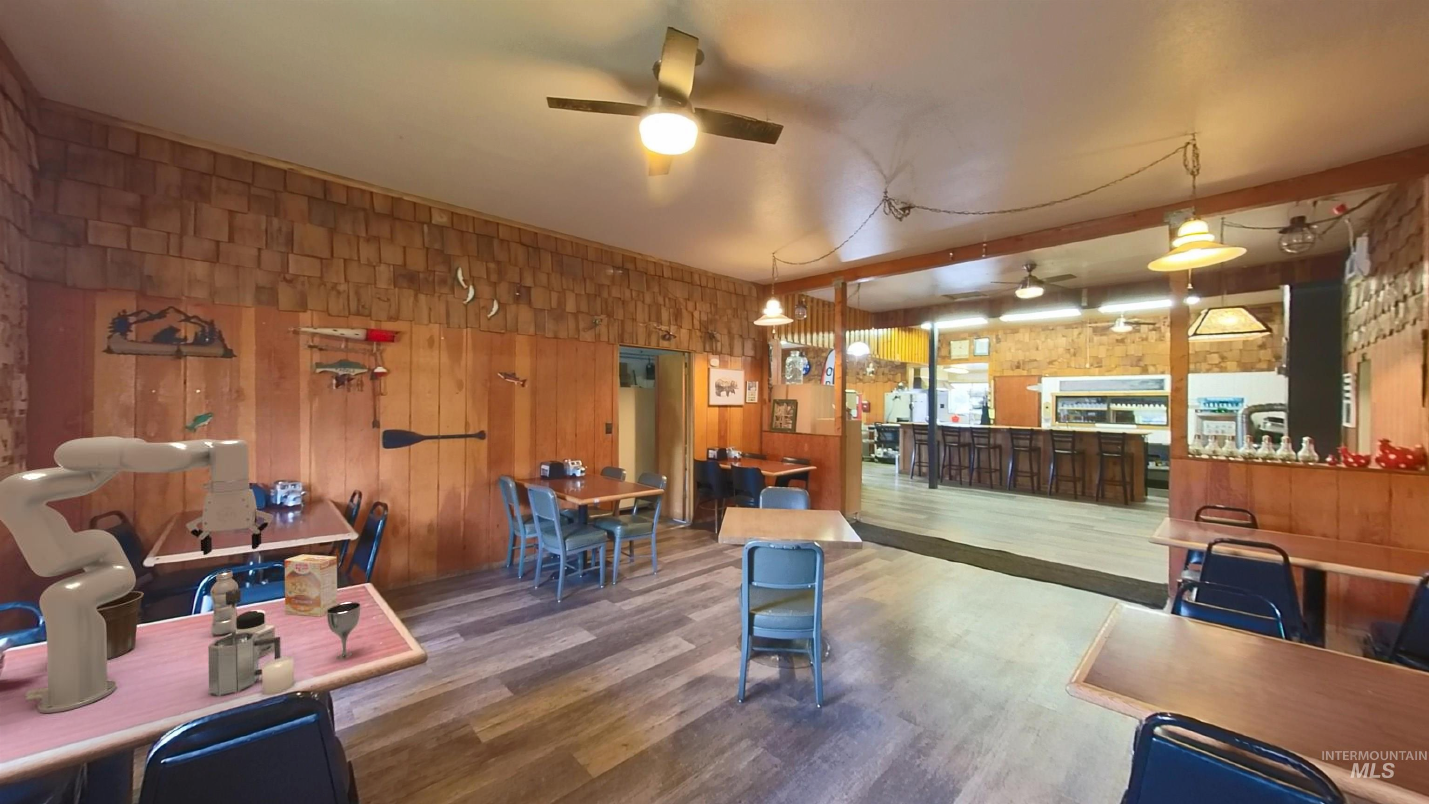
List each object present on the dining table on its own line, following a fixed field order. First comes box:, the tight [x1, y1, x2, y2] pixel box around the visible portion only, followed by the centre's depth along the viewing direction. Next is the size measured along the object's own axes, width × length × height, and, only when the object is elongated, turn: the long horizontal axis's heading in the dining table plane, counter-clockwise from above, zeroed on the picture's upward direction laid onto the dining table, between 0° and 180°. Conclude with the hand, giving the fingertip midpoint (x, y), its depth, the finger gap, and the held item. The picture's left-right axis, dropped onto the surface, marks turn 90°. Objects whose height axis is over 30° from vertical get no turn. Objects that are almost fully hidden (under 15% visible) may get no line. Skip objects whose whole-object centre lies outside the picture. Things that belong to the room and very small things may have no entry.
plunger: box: [226, 588, 242, 645], centre depth 135 cm, size 6×6×16 cm
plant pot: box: [96, 590, 144, 661], centre depth 153 cm, size 16×16×16 cm
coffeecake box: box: [284, 554, 338, 618], centre depth 184 cm, size 15×7×20 cm, turn 81°
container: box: [228, 609, 276, 659], centre depth 153 cm, size 8×8×13 cm
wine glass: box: [326, 601, 361, 660], centre depth 151 cm, size 8×8×15 cm
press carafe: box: [207, 631, 282, 698], centre depth 137 cm, size 14×9×13 cm, turn 117°
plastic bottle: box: [209, 570, 239, 636], centre depth 167 cm, size 6×7×20 cm
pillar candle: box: [261, 656, 295, 695], centre depth 135 cm, size 6×6×7 cm
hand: (232, 550), depth 136 cm, fingers open, 9 cm apart
